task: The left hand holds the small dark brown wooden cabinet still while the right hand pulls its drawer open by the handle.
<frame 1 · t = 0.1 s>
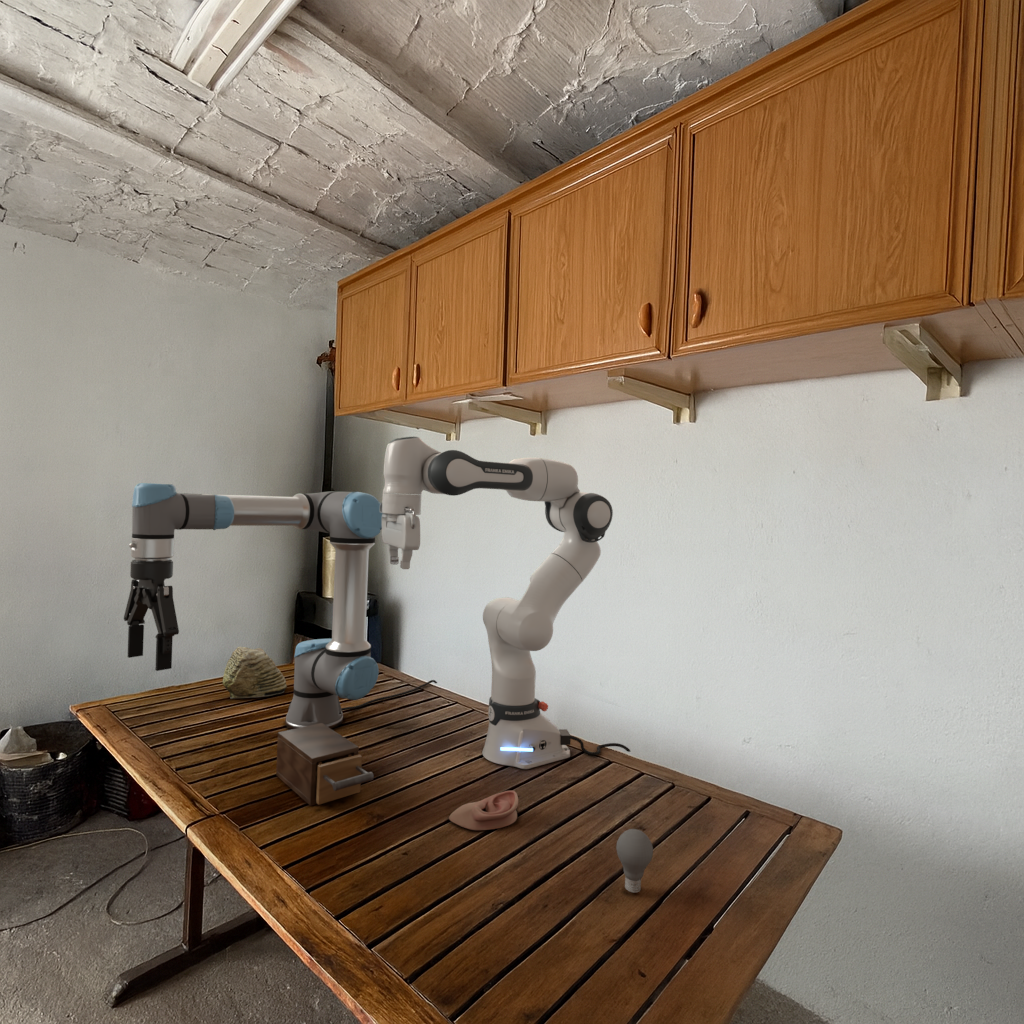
left hand: (148, 662, 129), 28 cm above the table, tool pointing down, fingers open, 13 cm apart
right hand: (399, 566, 146), 48 cm above the table, tool pointing down, fingers open, 8 cm apart
cabinet: (315, 783, 140), on the table
drawer: (329, 771, 135), point 5 cm above the table, slide at 1.3 cm
light bulb: (632, 891, 106), on the table
anatomical model: (483, 817, 128), on the table
fossil: (254, 694, 198), on the table
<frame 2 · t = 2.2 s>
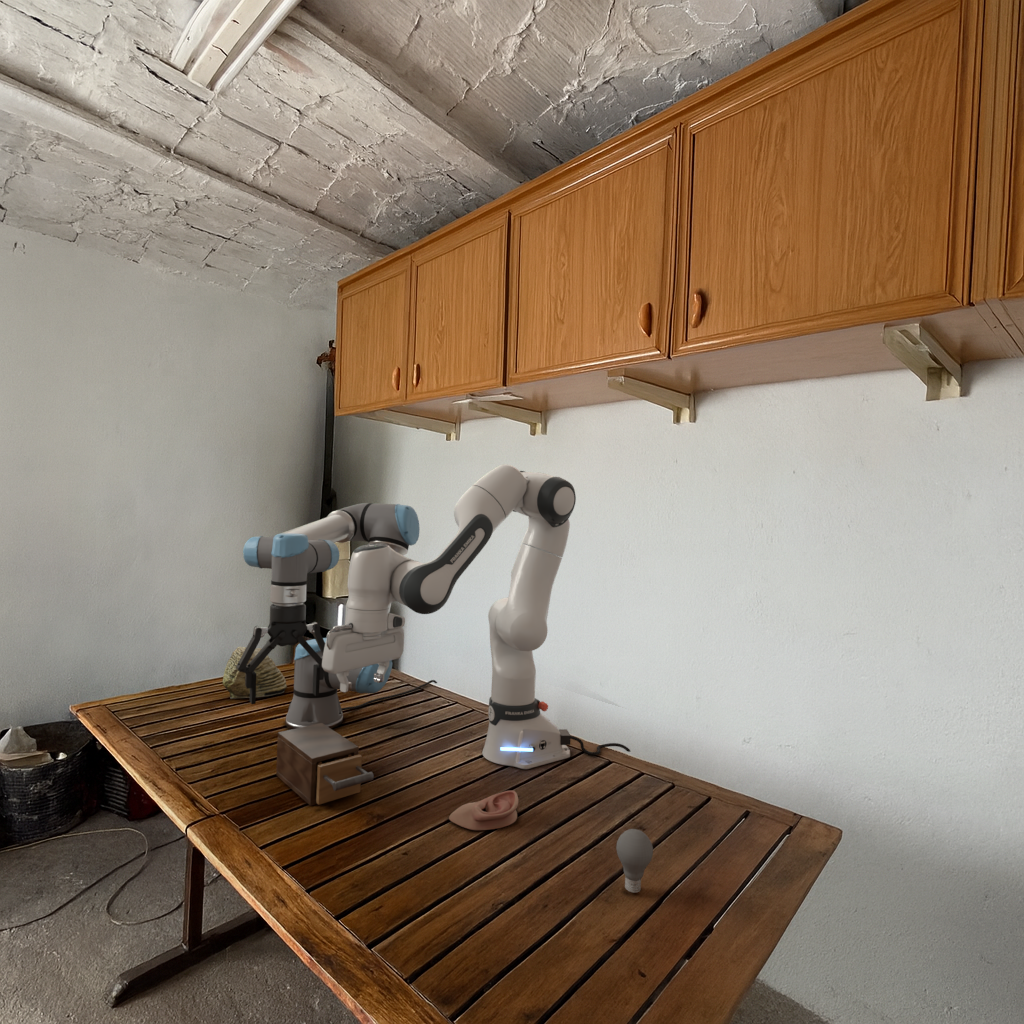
left hand: (284, 698, 141), 18 cm above the table, tool pointing down, fingers open, 13 cm apart
right hand: (362, 686, 133), 24 cm above the table, tool pointing down, fingers open, 8 cm apart
nothing on the table moved.
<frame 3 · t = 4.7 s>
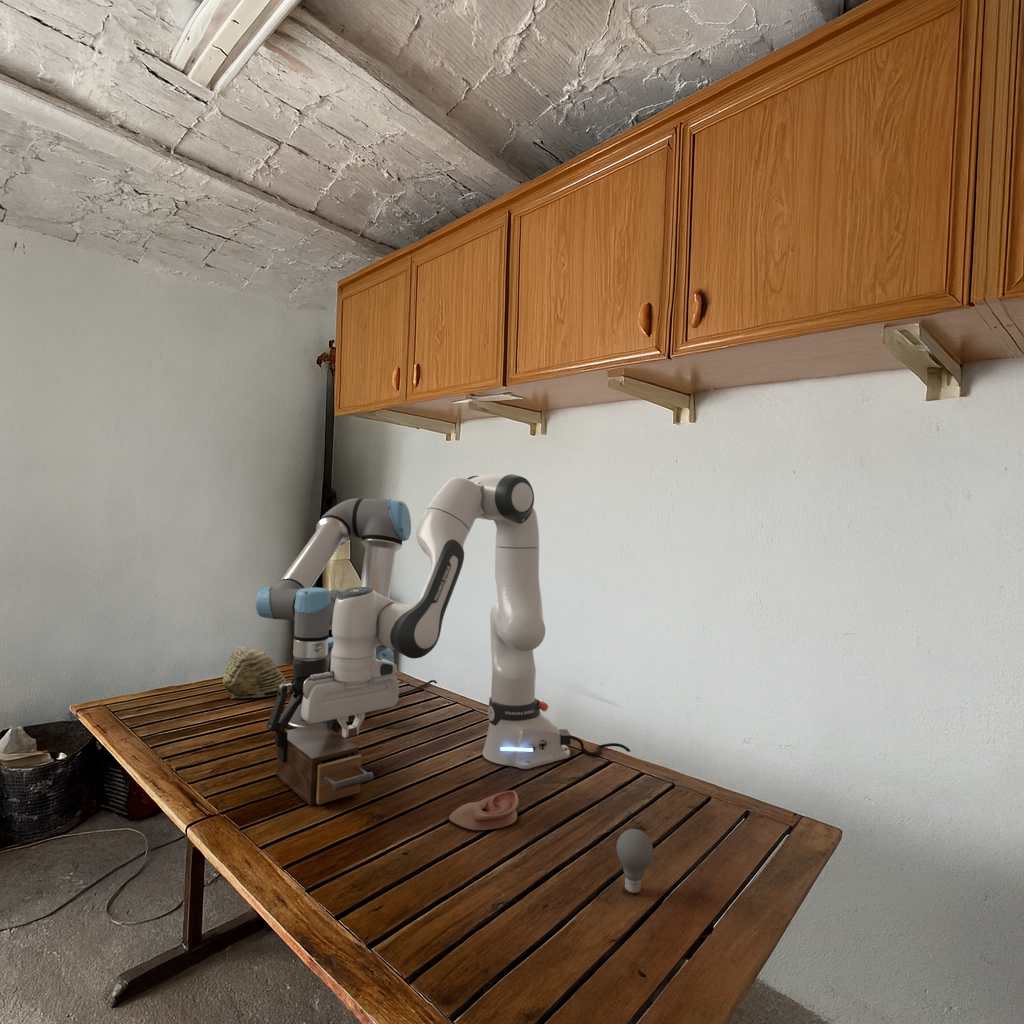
left hand: (306, 754, 143), 5 cm above the table, tool pointing down, fingers closed on cabinet, 11 cm apart
right hand: (350, 735, 129), 15 cm above the table, tool pointing down, fingers closed
cabinet: (315, 783, 140), on the table, touching left hand
everything else where it was.
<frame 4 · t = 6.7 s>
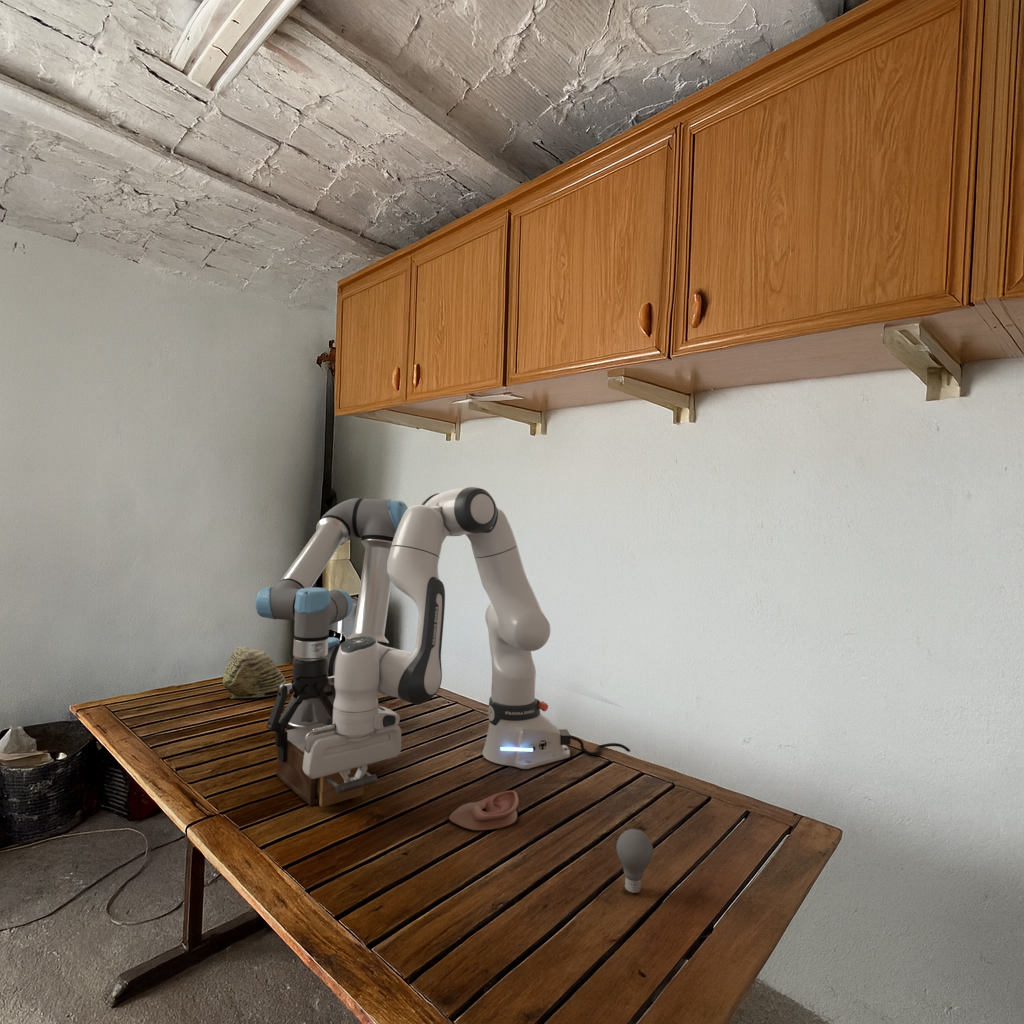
left hand: (306, 753, 143), 5 cm above the table, tool pointing down, fingers closed on cabinet, 11 cm apart
right hand: (352, 787, 128), 5 cm above the table, tool pointing down, fingers closed, pressing on drawer
cabinet: (315, 783, 140), on the table, touching left hand
drawer: (332, 773, 134), point 5 cm above the table, slide at 2.7 cm, touching right hand
everything else where it was.
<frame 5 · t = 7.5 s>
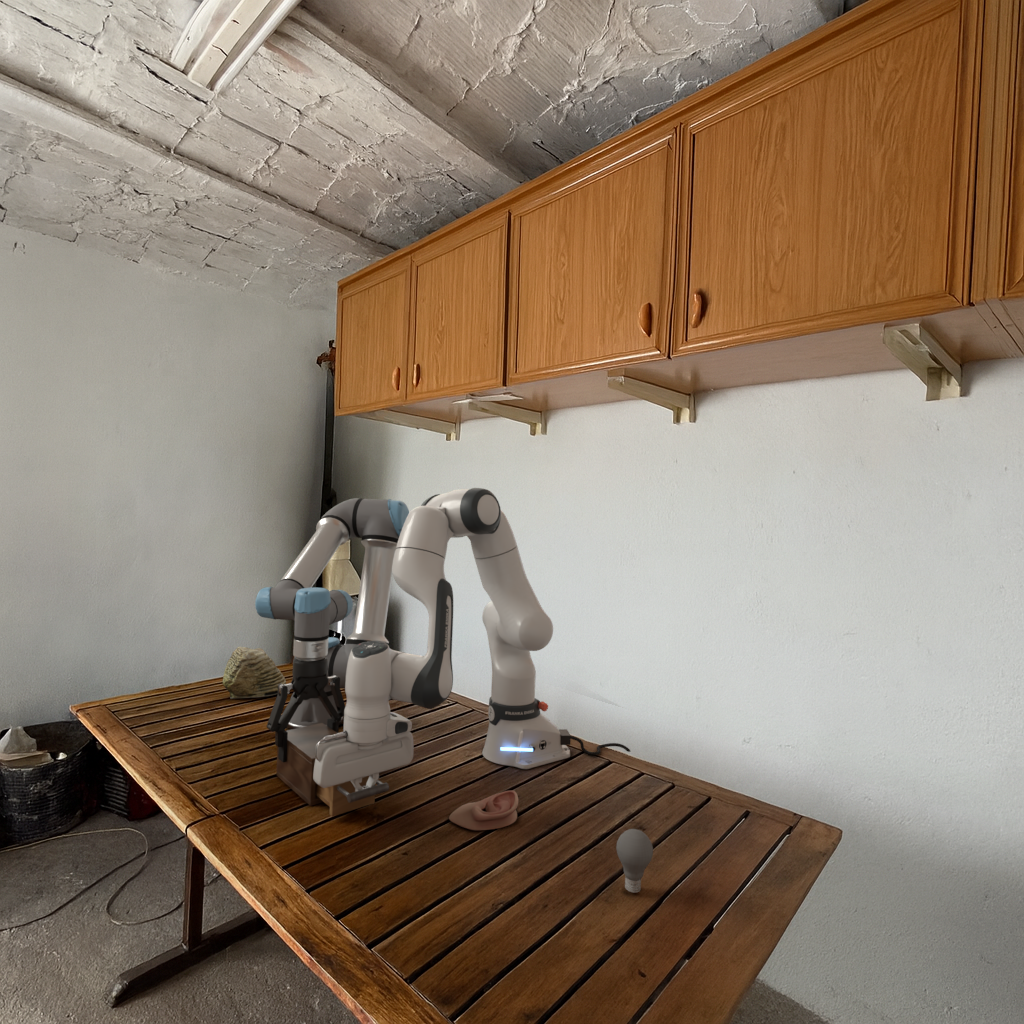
left hand: (307, 754, 143), 5 cm above the table, tool pointing down, fingers closed on cabinet, 11 cm apart
right hand: (364, 796, 124), 5 cm above the table, tool pointing down, fingers closed, pressing on drawer
cabinet: (315, 783, 140), on the table, touching left hand
drawer: (342, 781, 131), point 5 cm above the table, slide at 7.2 cm, touching right hand
everything else where it was.
when the left hand's fingers open (5 cm above the table, at t = 9.1 s): cabinet stays where it is, on the table.
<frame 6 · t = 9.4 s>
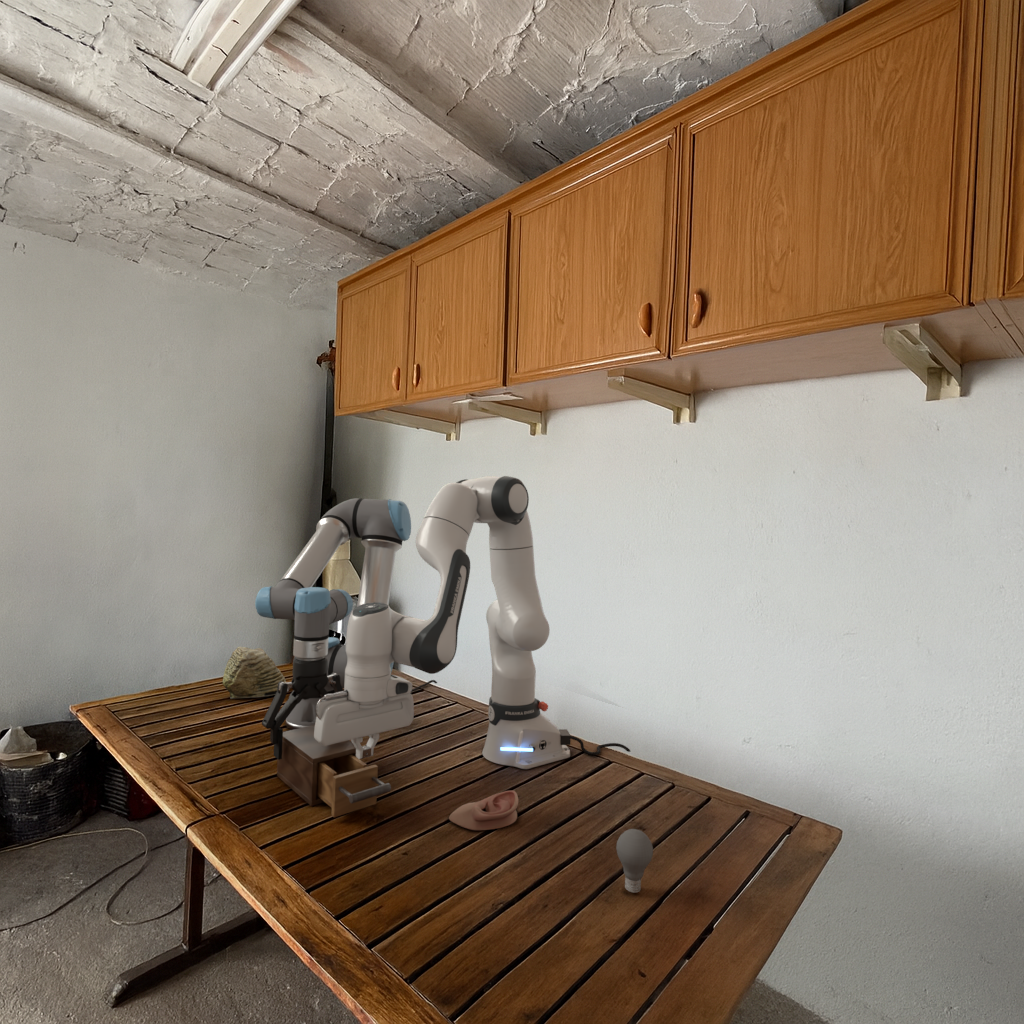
left hand: (307, 750, 143), 6 cm above the table, tool pointing down, fingers open, 13 cm apart
right hand: (364, 756, 124), 13 cm above the table, tool pointing down, fingers closed
cabinet: (316, 783, 140), on the table
drawer: (344, 782, 130), point 5 cm above the table, slide at 7.5 cm
everything else where it was.
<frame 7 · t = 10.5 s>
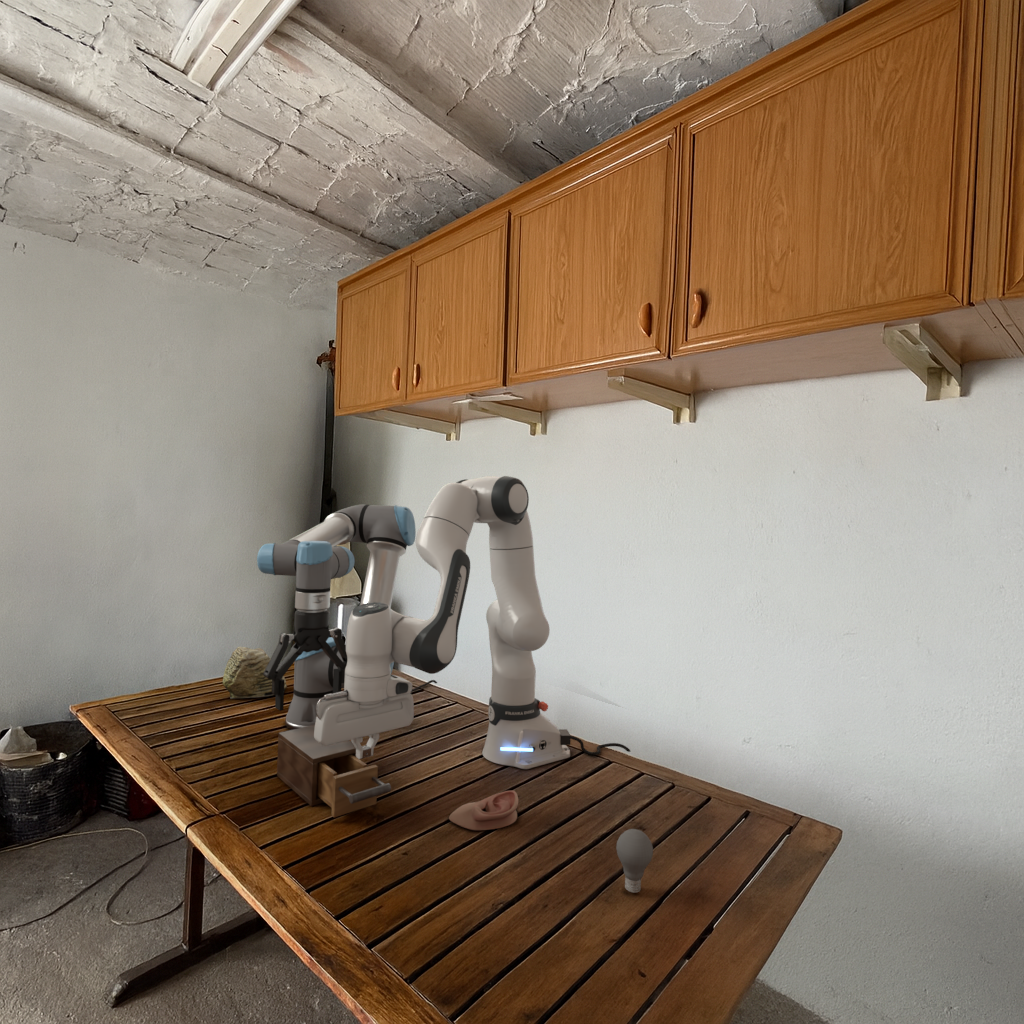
left hand: (308, 703, 143), 16 cm above the table, tool pointing down, fingers open, 13 cm apart
right hand: (364, 756, 124), 13 cm above the table, tool pointing down, fingers closed
nothing on the table moved.
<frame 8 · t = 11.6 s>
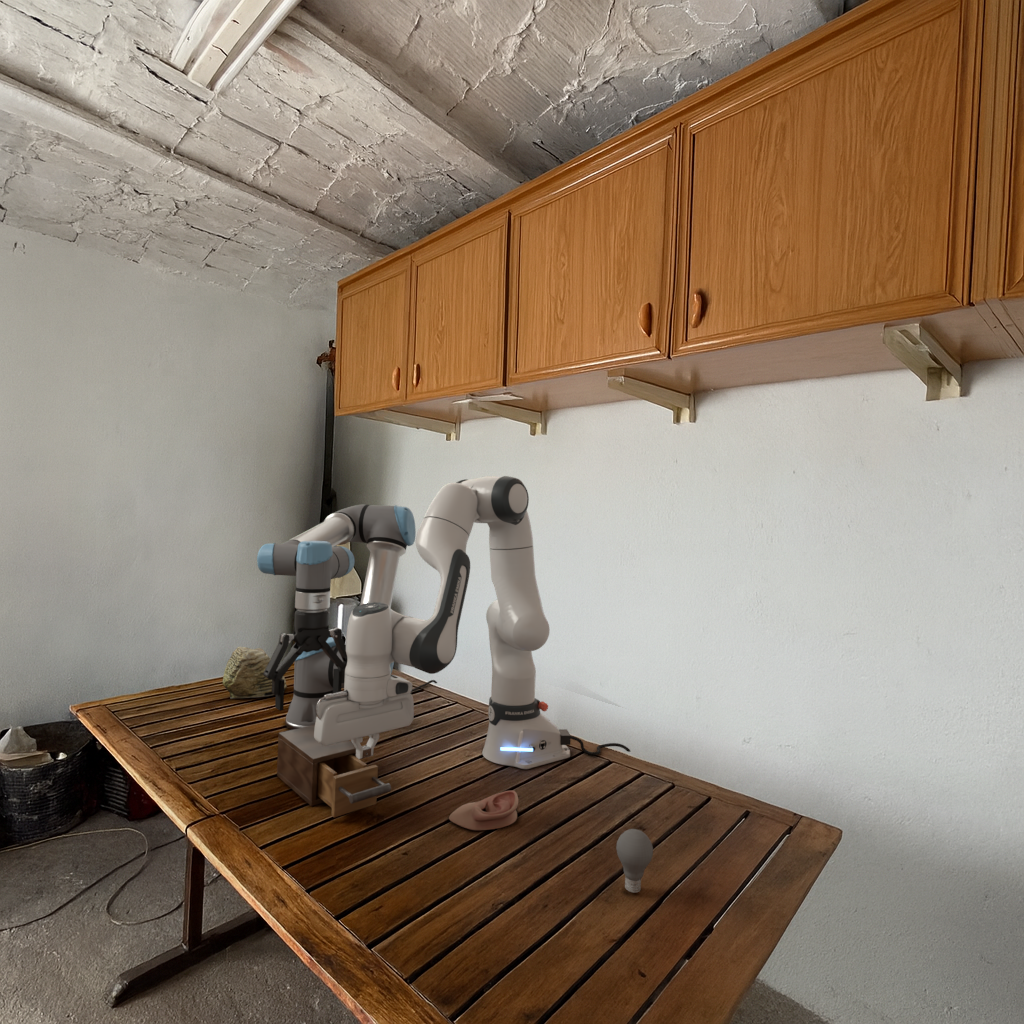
left hand: (308, 703, 143), 16 cm above the table, tool pointing down, fingers open, 13 cm apart
right hand: (364, 756, 124), 13 cm above the table, tool pointing down, fingers closed
nothing on the table moved.
at the end: drawer slide at 7.5 cm; cabinet tilted 0°; cabinet never tilted more than 2° during the clip; cabinet moved 0.3 cm from its start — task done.
